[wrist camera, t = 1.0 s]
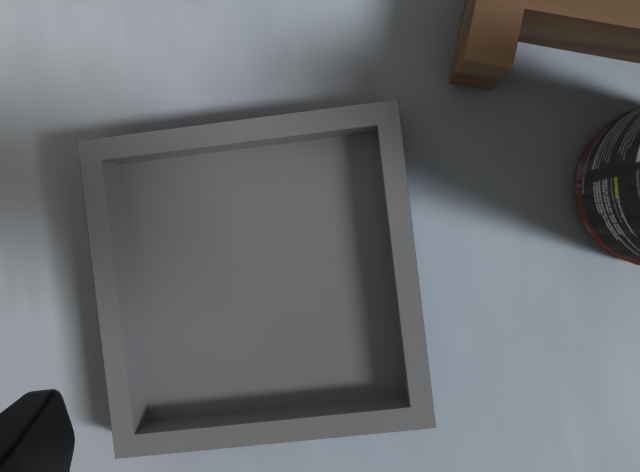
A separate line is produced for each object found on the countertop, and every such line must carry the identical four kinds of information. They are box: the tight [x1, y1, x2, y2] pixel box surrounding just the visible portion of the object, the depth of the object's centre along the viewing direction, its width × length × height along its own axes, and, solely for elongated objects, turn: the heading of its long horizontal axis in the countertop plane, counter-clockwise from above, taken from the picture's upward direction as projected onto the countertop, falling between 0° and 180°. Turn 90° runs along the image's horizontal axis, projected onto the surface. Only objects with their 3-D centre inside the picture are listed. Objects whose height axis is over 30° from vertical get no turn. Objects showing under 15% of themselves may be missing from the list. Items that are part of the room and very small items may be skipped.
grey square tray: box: [77, 99, 436, 459], centre depth 22 cm, size 12×12×2 cm
